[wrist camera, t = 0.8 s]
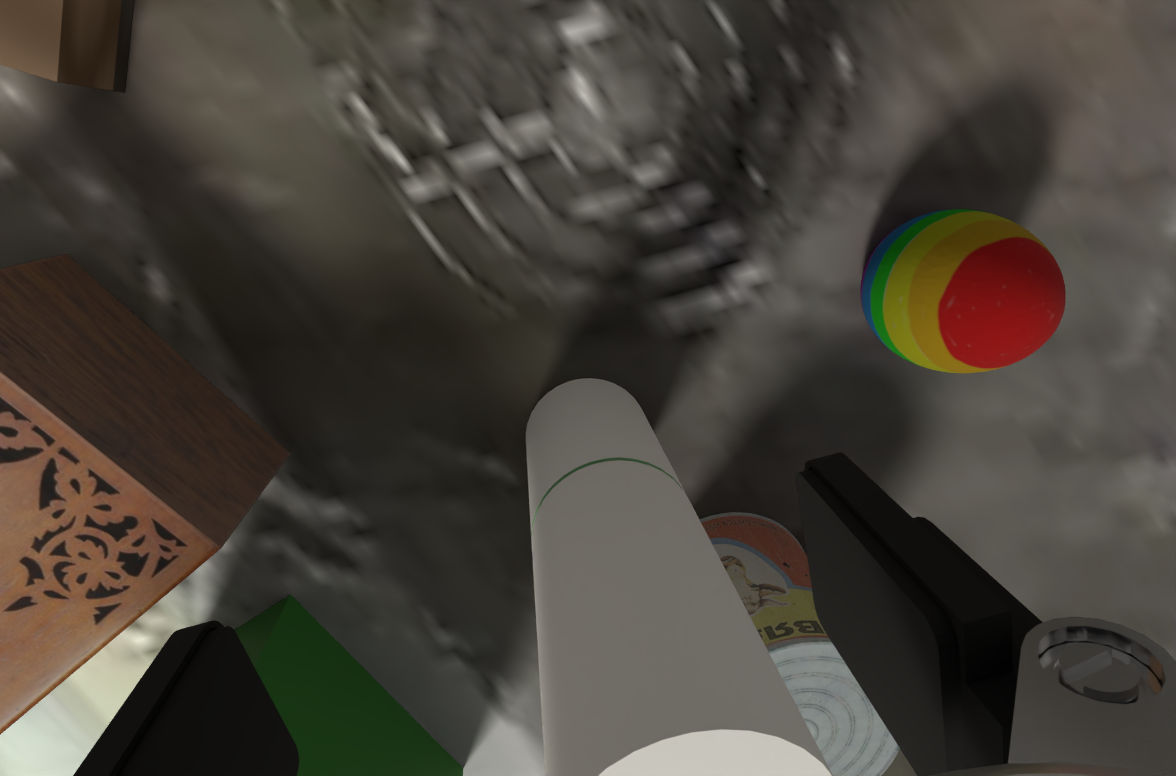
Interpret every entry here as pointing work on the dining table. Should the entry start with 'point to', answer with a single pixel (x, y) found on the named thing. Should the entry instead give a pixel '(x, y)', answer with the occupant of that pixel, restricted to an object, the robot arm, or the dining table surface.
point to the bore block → (68, 40)
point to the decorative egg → (962, 291)
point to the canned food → (801, 641)
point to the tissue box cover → (102, 473)
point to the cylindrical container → (641, 611)
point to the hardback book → (335, 702)
